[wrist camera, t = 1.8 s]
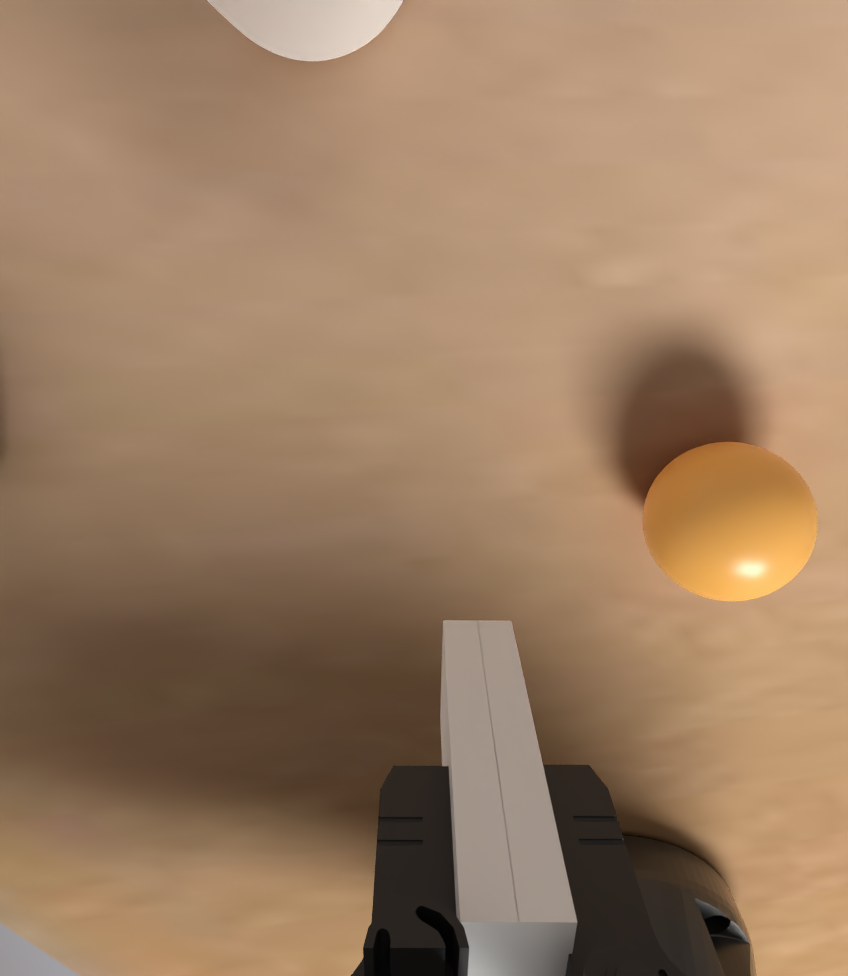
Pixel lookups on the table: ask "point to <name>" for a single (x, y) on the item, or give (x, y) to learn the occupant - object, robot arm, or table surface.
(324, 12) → the can
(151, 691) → the table surface
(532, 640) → the table surface
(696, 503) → the ball
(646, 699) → the table surface
